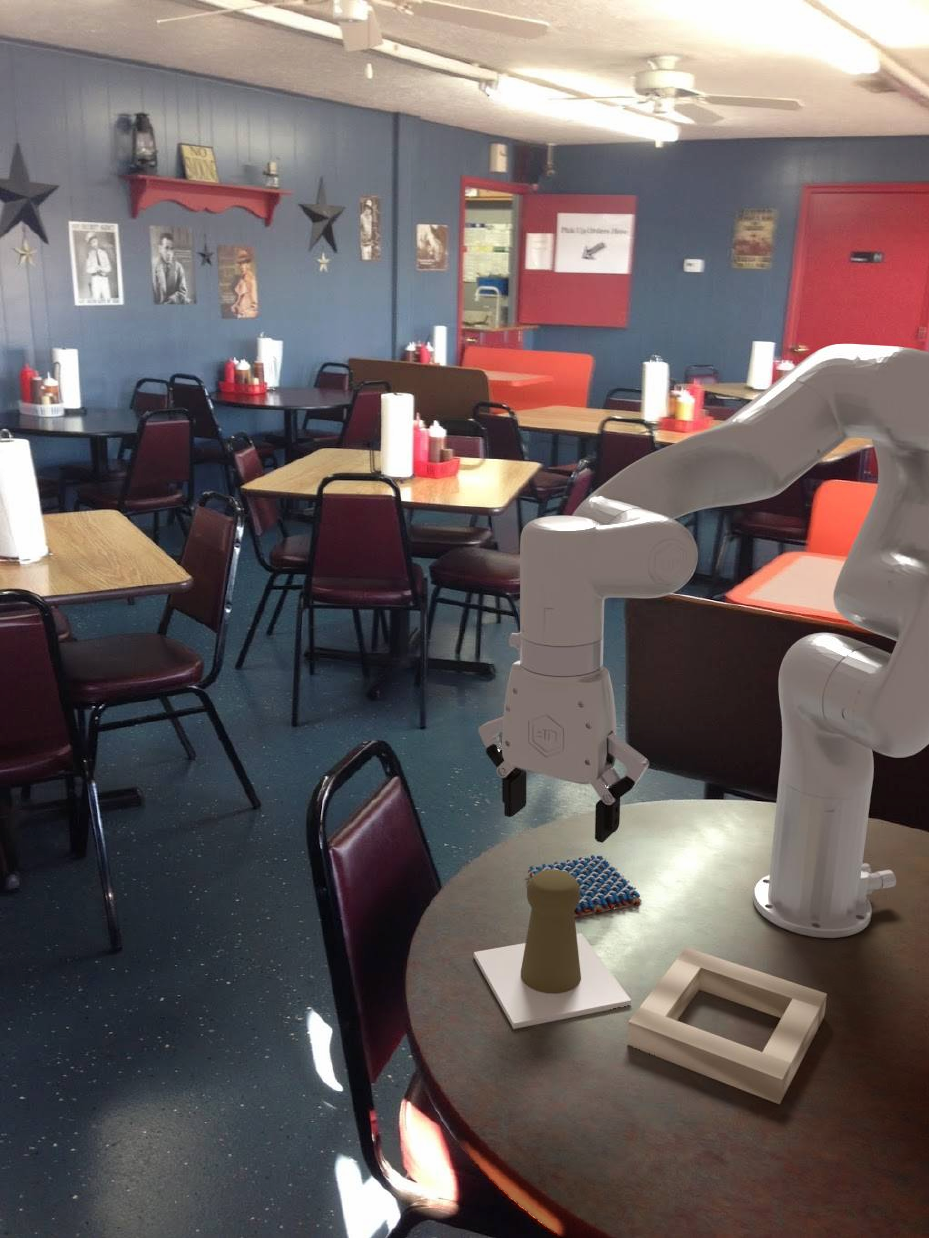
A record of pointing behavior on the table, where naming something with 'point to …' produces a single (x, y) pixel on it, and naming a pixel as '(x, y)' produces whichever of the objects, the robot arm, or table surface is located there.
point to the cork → (552, 933)
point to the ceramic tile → (539, 1007)
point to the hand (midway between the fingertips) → (559, 823)
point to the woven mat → (596, 884)
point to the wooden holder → (717, 1055)
